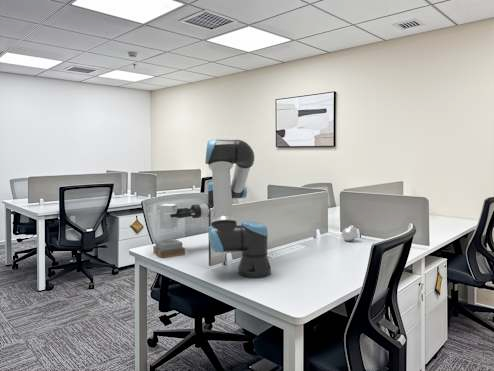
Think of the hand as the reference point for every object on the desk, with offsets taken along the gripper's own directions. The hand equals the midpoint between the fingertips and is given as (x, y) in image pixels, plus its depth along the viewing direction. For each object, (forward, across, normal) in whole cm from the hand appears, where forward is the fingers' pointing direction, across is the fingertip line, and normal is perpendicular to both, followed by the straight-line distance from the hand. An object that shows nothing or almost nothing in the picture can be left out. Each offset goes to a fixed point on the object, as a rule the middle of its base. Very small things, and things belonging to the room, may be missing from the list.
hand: (160, 214), depth 201 cm
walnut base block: (-4, 0, -22) cm, 23 cm away
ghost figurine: (-109, -31, -22) cm, 116 cm away
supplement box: (-4, 0, -8) cm, 9 cm away
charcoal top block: (-4, 0, -18) cm, 19 cm away
